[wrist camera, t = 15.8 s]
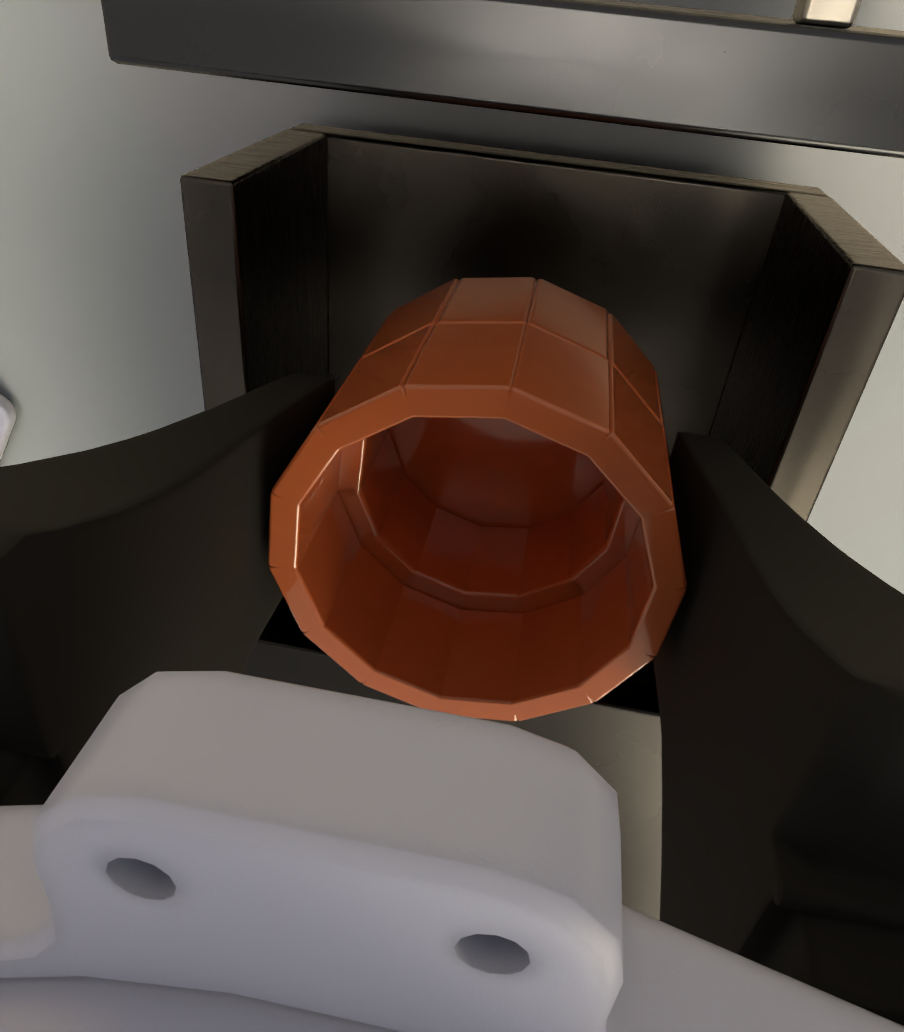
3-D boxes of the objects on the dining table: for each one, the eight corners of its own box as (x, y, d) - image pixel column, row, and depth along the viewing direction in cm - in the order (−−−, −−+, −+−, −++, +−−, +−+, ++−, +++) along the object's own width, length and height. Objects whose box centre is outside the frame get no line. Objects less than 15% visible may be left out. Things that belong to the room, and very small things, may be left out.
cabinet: (274, 429, 21) (133, 618, 14) (753, 506, 20) (823, 745, 13) (291, 763, 29) (205, 976, 22) (631, 830, 28) (639, 1072, 21)
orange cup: (305, 437, 14) (202, 589, 11) (473, 190, 11) (411, 283, 8) (528, 587, 15) (504, 771, 12) (732, 397, 12) (786, 564, 9)
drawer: (243, -529, 11) (-41, -934, 6) (1102, -484, 10) (1565, -926, 5) (288, 536, 21) (199, 691, 17) (703, 607, 20) (732, 792, 16)
